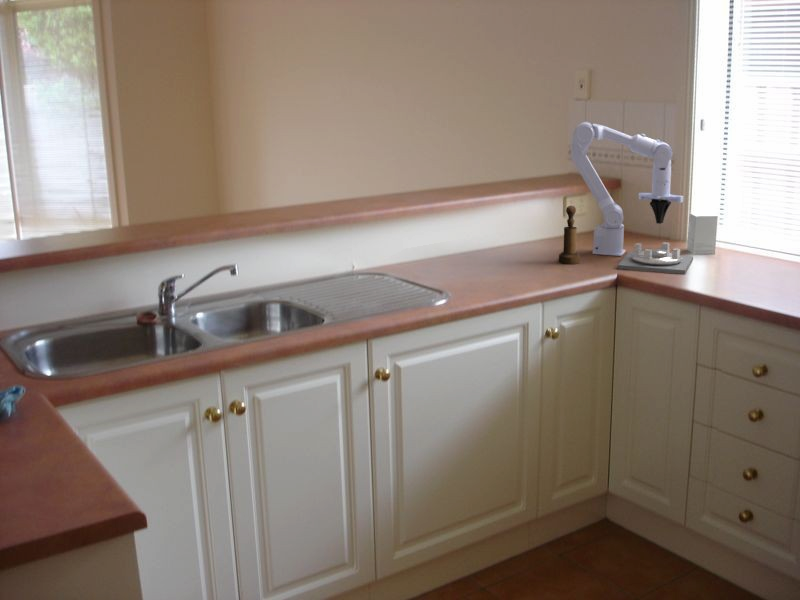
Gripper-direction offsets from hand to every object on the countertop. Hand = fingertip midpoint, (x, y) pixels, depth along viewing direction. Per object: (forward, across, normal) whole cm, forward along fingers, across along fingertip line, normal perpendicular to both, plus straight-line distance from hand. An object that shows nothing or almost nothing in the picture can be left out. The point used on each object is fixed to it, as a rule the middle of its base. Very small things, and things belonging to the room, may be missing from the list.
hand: (659, 223), depth 305 cm
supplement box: (+11, +9, +12) cm, 19 cm away
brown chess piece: (+10, -17, -27) cm, 33 cm away
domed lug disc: (+9, +6, -13) cm, 17 cm away
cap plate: (+10, +6, -13) cm, 18 cm away
